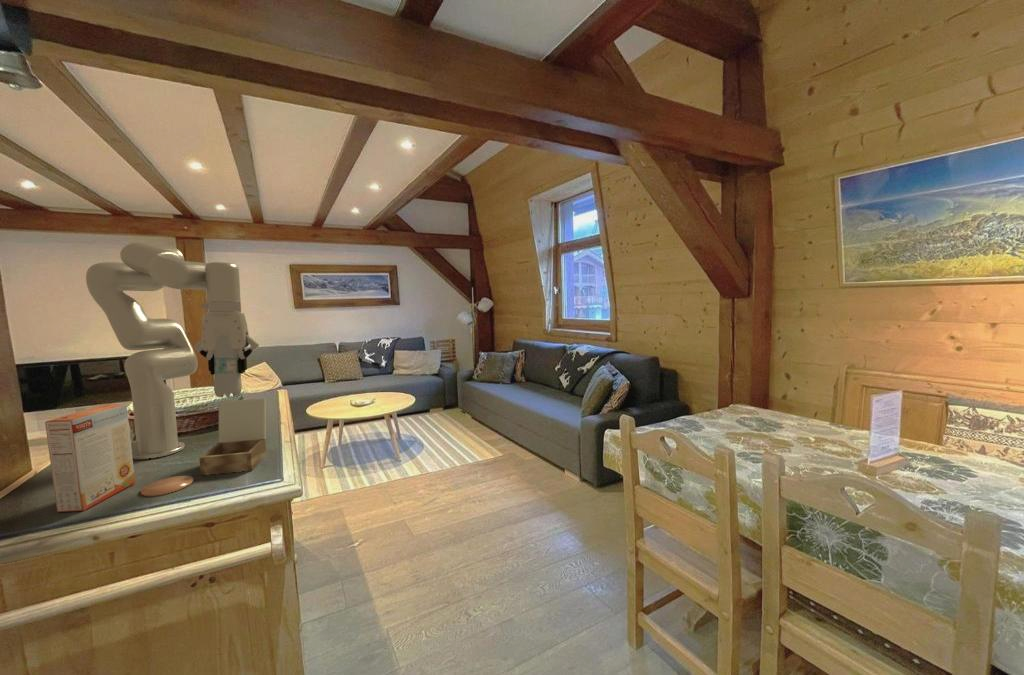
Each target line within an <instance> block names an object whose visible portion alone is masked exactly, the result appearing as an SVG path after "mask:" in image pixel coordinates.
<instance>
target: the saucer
mask: <svg viewBox="0 0 1024 675" xmlns="http://www.w3.org/2000/svg"><path fill="white" fill-rule="evenodd" d="M192 482H193V483H194V477H192V476H189V475H177V476H170V477H166V478H162V479H159V480H156V481H153V482H149V483H148V484H146V485H145V486H143V487H142V488H141V489H140V495H141V496H143V495H144V497H159V496H164V494H165V495H168V493H169V494H172V493H171V492H173V493H175V491H176V492H178V491H177V490H179V491H181V490H180V489H182V488H184V487H186V486H188V485H190V484H191V483H192ZM193 483H192V484H193ZM192 484H191V485H192ZM191 485H190V486H191ZM188 487H189V486H188ZM186 488H187V487H186ZM184 489H185V488H184ZM182 490H183V489H182ZM158 495H159V496H158Z"/></svg>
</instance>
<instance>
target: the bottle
mask: <svg viewBox="0 0 1024 675" xmlns="http://www.w3.org/2000/svg"><path fill="white" fill-rule="evenodd" d="M216 340H217V341H216V344H215V348H214V350H213V354H214V369H215V374H214V378H213V379H214V381H213V392H214V394H215V396H216V397H219V398H221V399H222V398H223V397H224V395H225V396H226V397H225V398H230V396H231V394H232V397H234V398H235V397H237V396H239V395H240V394H241V392H242V390H243V389H242V388H243V386H242V385H243V384H242V375H241V374H239V373H238V359H239V355H238V350H233V349H232V347H231V344H230V341H229V338H228V337H225V336H221V337H217V339H216Z"/></svg>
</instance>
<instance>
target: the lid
mask: <svg viewBox="0 0 1024 675" xmlns="http://www.w3.org/2000/svg"><path fill="white" fill-rule="evenodd" d="M266 436H267V435H266V398H254V399H251V398H249V399H236V400H219V401H218V443H223V442H235V441H246V440H258V439H265V440H266V439H267V438H266Z"/></svg>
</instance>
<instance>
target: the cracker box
mask: <svg viewBox="0 0 1024 675" xmlns="http://www.w3.org/2000/svg"><path fill="white" fill-rule="evenodd" d="M128 413H129V412H128V406H127V404H126V403H124V404H122V403H119V404H113V403H111V404H110V403H109V404H103V405H99V406H95V407H92V408H89V409H85V410H81V411H78V412H74V413H70V414H67V415H64V416H59V417H56V418H53V419H50V420H49V419H48V420H46V421H45V422H44V424H45V432H46V440H47V448H48V454H49V461H50V462H49V463H50V469H51V476H52V484H53V489H54V490H53V491H54V499H55V505H56V512H57V513H67V512H83V511H86V510H88V509H89V508H92V507H95V505H97V504H99V503H101V502H103V501H104V500H107V499H108V498H110V497H112V496H113V495H116V494H117V493H120V492H121V491H124V490H125V489H127V488H128V487H131V486H132V485H134V484H136V479H135V470H134V469H135V468H134V459H133V458H132V452H133V449H131V441H132V440H131V433H130V432H131V431H130V423H129V415H128Z"/></svg>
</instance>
